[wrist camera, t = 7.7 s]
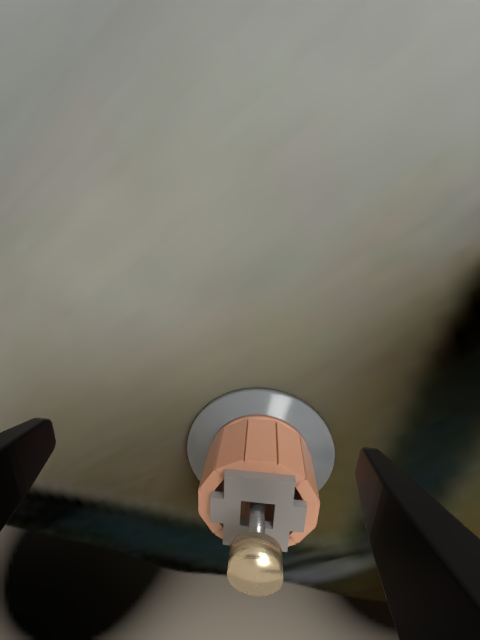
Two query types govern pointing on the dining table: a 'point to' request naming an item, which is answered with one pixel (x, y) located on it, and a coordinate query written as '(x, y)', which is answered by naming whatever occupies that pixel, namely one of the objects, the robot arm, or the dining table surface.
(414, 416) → the dining table surface
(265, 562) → the plunger
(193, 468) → the disc
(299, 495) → the orange slatted barrel
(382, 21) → the dining table surface
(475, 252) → the dining table surface
